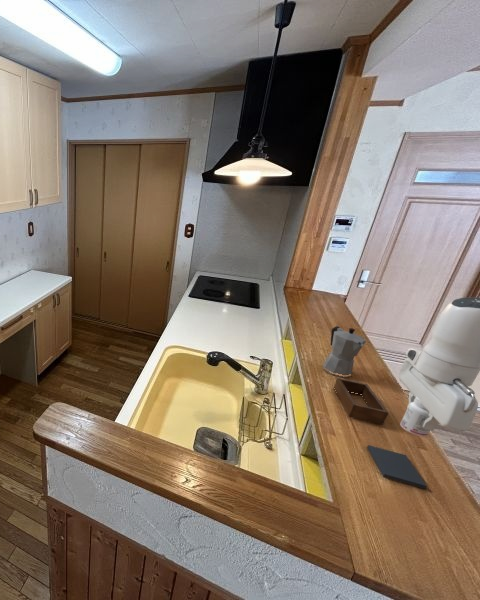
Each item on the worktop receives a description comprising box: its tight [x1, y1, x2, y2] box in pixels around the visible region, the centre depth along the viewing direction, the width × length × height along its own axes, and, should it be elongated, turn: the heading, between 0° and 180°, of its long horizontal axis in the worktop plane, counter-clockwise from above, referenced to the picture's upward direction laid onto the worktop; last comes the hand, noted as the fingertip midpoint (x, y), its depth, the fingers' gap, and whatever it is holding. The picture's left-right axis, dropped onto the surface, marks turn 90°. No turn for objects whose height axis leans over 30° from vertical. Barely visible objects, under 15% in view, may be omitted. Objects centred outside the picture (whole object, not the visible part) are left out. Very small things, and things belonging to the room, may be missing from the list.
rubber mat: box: [366, 444, 428, 490], centre depth 81 cm, size 8×10×1 cm
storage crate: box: [333, 377, 389, 426], centre depth 103 cm, size 8×16×4 cm, turn 158°
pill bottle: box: [399, 396, 431, 437], centre depth 75 cm, size 5×5×8 cm
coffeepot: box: [321, 325, 367, 379], centre depth 121 cm, size 15×9×18 cm, turn 174°
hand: (418, 419), depth 75 cm, fingers closed on pill bottle, 5 cm apart
